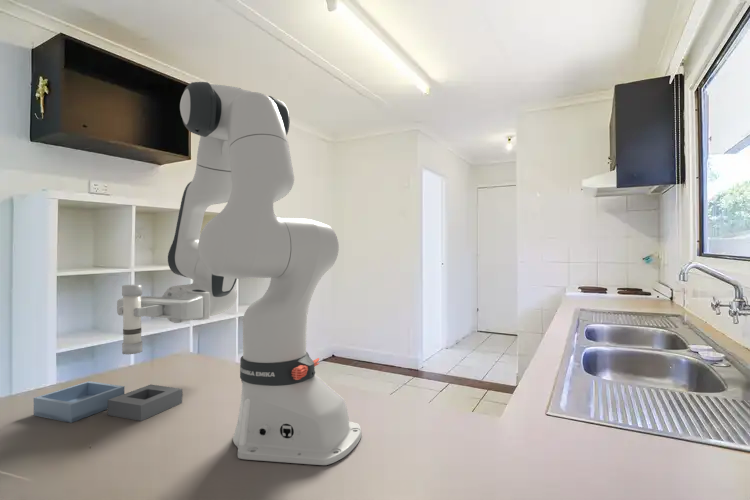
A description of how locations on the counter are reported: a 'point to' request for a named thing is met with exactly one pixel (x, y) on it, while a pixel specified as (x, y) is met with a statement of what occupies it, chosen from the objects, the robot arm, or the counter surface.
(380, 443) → the counter surface
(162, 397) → the block
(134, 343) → the fuse
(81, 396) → the parts tray
